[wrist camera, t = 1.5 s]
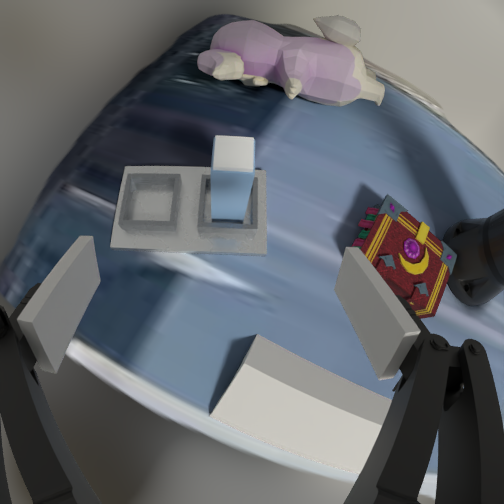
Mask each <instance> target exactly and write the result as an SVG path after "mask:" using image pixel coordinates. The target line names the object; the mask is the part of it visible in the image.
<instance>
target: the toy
mask: <svg viewBox="0 0 504 504" xmlns="http://www.w3.org/2000/svg"><path fill="white" fill-rule="evenodd" d="M313 20H314V21H315V23H316V24H317V26H318V27H319V28H320V30H321V31H322V33H323V35H324V36H325V38H314V37H285V36H282V35H281V34H280V33H278V32H277V31H275V30H274V29H272V28H270V27H268V26H267V25H265V24H263V23H260V22H257V21H255V20H248V21H239V22H232V23H230V24H228V25H225V26H223V27H221V28H220V29H219V30H218V31H217V32H216V33H215V35H214V36H213V40H212V43H211V46H210V50H208V51H205V52H202V53H200V55H199V56H198V61H197V63H198V68H199V69H200V70H201V71H203V72H205V73H207V74H209V75H212V76H214V78H216V79H219V80H233V79H238V80H240V81H241V82H242V83H243V84H244V85H247V86H262V85H267V84H268V83H275V84H277V85H279V86H281V87H283V88H284V90H285V93H286V95H287V96H288V97H289V98H290V99H293V98H294V97H295V96H296V95H299V96H301V97H303V98H305V99H307V100H310V101H314V102H317V103H320V104H324V105H331V106H343V105H346V104H349V103H351V102H353V101H354V100H356V99H359V98H363V99H367V100H372V101H375V104H376V105H377V106H380V104H381V102H382V99H383V97H384V92H385V88H384V84H381V83H379V82H378V81H376V74H375V72H373V71H371V70H369V69H368V68H366V67H365V64H364V60H363V56H362V53H361V51H360V50H359V49H358V48H356V47H355V45H356V44H357V43H359V42H360V36H361V28H360V27H359V26H358V25H357V23H356V22H355V21H353V20H351V19H348V18H346V17H344V16H338V15H337V16H329V17H319V18H314V19H313Z"/></svg>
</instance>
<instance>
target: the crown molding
mask: <svg viewBox="0 0 504 504" xmlns="http://www.w3.org/2000/svg"><path fill="white" fill-rule="evenodd" d="M391 402H392V400H390V399H388V398H386V397H384V396H381V395H379V394H377V393H375V392H372V391H370V390H368V389H366V388H363V387H361V386H359V385H357V384H355V383H353V382H351V381H348V380H346V379H344V378H342V377H340V376H338V375H336V374H334V373H332V372H330V371H328V370H326V369H324V368H322V367H319V366H317V365H315V364H313V363H311V362H309V361H308V360H306V359H304V358H302V357H300V356H298V355H296V354H294V353H292V352H290V351H288V350H286V349H284V348H282V347H280V346H279V345H277V344H275V343H273V342H271V341H269V340H267V339H266V338H264V337H262V336H260V335H258V334H257V336H256V337H255V339H254V341H253V343H252V344H251V346H250V349H249V350H248V352H247V354H246V355H245V357H244V359H243V362H242V364H241V366H240V367H239V369H238V371H237V373H236V374H235V376H234V378H233V380H232V381H231V383H230V385H229V386H228V388H227V389H226V391H225V392H224V394H223V395H222V396H221V398H220V399H219V401H218V403H217V404H216V406H215V408H214V409H213V411H212V412H211V414H210V417H212V418H214V419H216V420H218V421H220V422H222V423H224V424H226V425H228V426H230V427H232V428H234V429H236V430H238V431H240V432H243V433H245V434H247V435H249V436H251V437H254V438H256V439H258V440H261V441H263V442H265V443H268V444H270V445H273V446H275V447H277V448H280V449H283V450H285V451H288V452H290V453H293V454H296V455H298V456H301V457H304V458H307V459H310V460H313V461H316V462H319V463H322V464H325V465H328V466H331V467H334V468H338V469H341V470H345V471H348V472H352V473H356V474H359V475H360V473H361V471H362V469H363V467H364V465H365V463H366V461H367V459H368V457H369V454H370V452H371V450H372V448H373V446H374V444H375V441H376V439H377V437H378V435H379V432H380V430H381V428H382V425H383V423H384V420H385V418H386V415H387V413H388V410H389V408H390V405H391Z"/></svg>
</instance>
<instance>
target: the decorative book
mask: <svg viewBox="0 0 504 504" xmlns="http://www.w3.org/2000/svg"><path fill="white" fill-rule="evenodd" d="M407 211H408V210H406V209H405V208H404V207H403V206H402V205H400V204H399V203H398V202H397V201H396V200H394V199H393V198H392V197H391V196H389V195H386V196H385V198H384V200H383V202H382V205H381V207H380V206H379V205H378V204H376V205H375V206H374V208H370V207H368V209H367V211H366V213H365V214H368V216H367V218H366V220H364V219H361V221H360V223H359V224H358V226H360V227H365V229H364V230H361V232H360V234H359V236H358V237H360V238H358V239H355V241H354V243H353V245H352V246H354V247H358V248H359V249H360V250H361V251H362V253H363V254H364V255H365V256H366V258H367V259H368V260H369V261H370V263H371V264H372V265H373V267H374V268H375V269H376V270H377V272H378V273H379V274H380V276H381V277H382V278H383V280H384V281H385V282H386V283H387V285H388V286H389V287H390V289H391V290H392V291H393V293H394V294H395V295H400V296H401V297H402V298H404V299H405V300H406V301H407V302H408V303H409V305H410V306H411V307H412V310H414V311H415V313H416V315H418V317H419V318H420V319H421V318H427V317H434V316H435V314H436V311H437V309H438V306H439V303H440V301H441V298H442V295H443V293H444V290H445V287H446V284H447V281H448V278H449V275H451V273H452V270H453V267H454V264H455V261H456V258H457V254H456V253H455V252H454V251H453V250H452V249H450V248H449V247H448V246H447V245H446V244H445V243H444V242H443V241H442V240H441V241H440V240H439V239H438V238H437V237H435V236H434V235H433V234H432V233H431V232H430V231H429V229H430V228H429V227H428V226H427V225H426V224H425V223H424V222H421V223H420V222H418V221H417V220H416V219H415V218H414V217H413V216H411V215H410V214H409V213H408V212H407ZM352 246H351V247H352Z"/></svg>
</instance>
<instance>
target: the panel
mask: <svg viewBox="0 0 504 504" xmlns="http://www.w3.org/2000/svg"><path fill="white" fill-rule="evenodd" d="M110 248H111V249H113V250H126V251H148V252H171V253H194V254H218V255H242V256H266V254H267V226H266V170H255V176H254V180H253V184H252V188H251V192H250V196H249V200H248V204H247V208H246V213H245V217H244V221H243V223H242V222H221V221H212V219H211V167H188V166H125V170H124V174H123V179H122V183H121V188H120V193H119V198H118V203H117V208H116V214H115V219H114V225H113V232H112V238H111V245H110Z"/></svg>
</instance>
